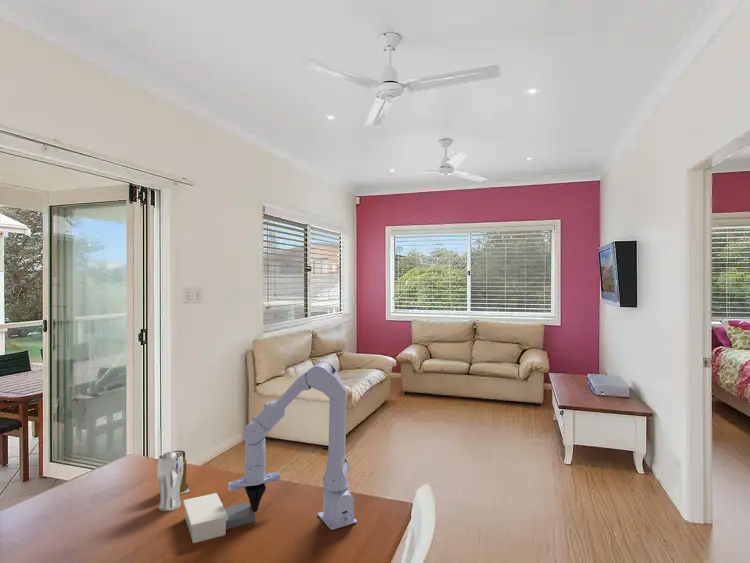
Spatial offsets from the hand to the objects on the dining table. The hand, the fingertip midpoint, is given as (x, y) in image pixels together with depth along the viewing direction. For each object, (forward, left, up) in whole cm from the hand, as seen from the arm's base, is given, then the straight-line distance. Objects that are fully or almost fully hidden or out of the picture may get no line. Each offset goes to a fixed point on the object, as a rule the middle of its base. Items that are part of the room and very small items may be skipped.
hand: (254, 510), depth 127 cm
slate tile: (0, +8, -2) cm, 8 cm away
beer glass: (+16, +20, -1) cm, 26 cm away
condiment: (+28, +17, -1) cm, 33 cm away
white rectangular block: (0, +13, -1) cm, 14 cm away
